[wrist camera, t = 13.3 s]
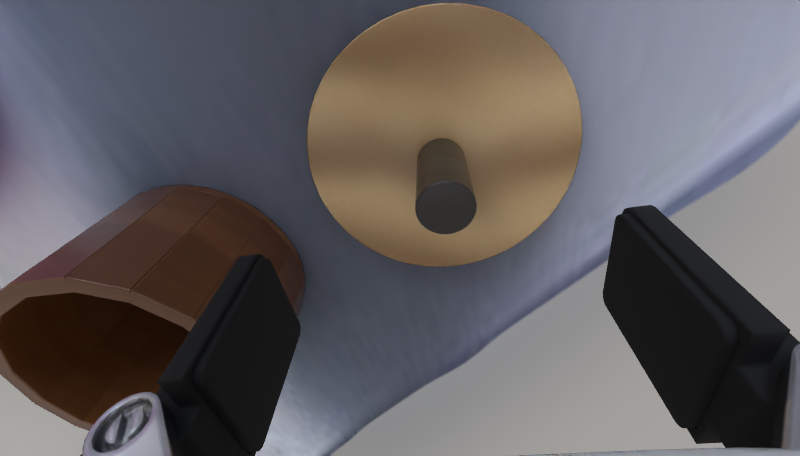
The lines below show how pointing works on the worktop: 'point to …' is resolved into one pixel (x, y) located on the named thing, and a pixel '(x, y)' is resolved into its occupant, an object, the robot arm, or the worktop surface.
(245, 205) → the brown wooden cylinder
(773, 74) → the worktop surface
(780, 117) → the worktop surface
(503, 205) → the lid
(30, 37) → the worktop surface
